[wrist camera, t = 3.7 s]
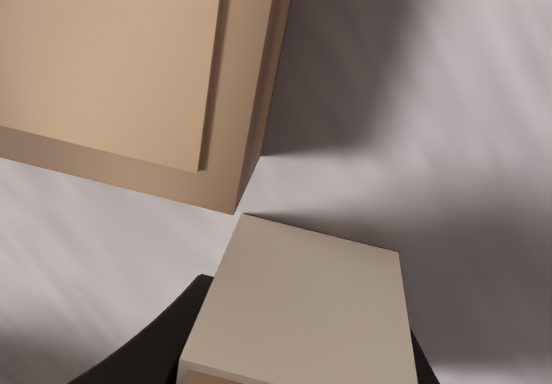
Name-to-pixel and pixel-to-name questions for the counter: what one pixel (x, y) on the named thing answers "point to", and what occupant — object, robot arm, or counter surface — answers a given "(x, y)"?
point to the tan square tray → (141, 91)
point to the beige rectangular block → (300, 313)
